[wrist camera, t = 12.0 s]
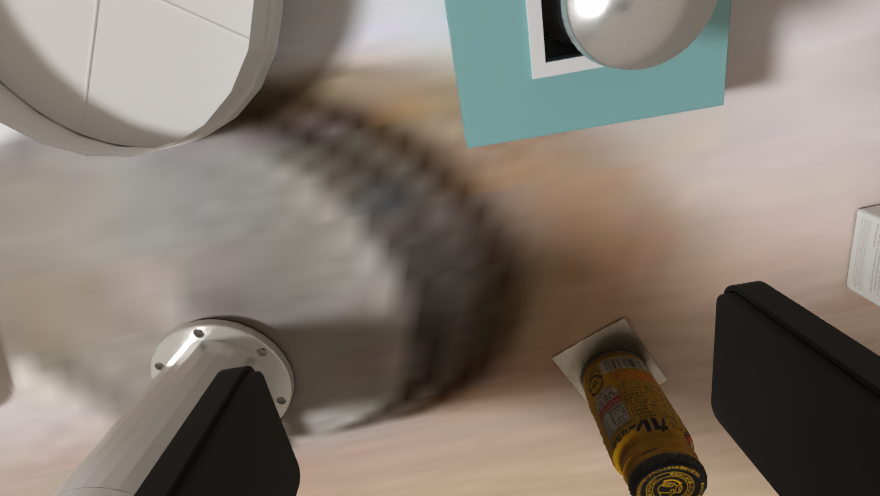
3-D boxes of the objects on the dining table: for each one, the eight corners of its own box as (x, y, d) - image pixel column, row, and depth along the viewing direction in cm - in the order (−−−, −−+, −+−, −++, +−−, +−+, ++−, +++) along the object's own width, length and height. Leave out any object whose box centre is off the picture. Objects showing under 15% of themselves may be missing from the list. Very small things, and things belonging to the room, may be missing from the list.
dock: (688, 97, 33) (726, 105, 28) (464, 136, 34) (467, 149, 29) (698, -148, 27) (747, -186, 23) (430, -92, 28) (428, -118, 24)
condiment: (597, 414, 44) (647, 535, 33) (551, 357, 42) (589, 467, 31) (666, 378, 43) (744, 494, 32) (623, 315, 40) (691, 418, 29)
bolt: (621, 53, 31) (717, 56, 20) (528, 69, 32) (573, 81, 21) (620, -56, 29) (729, -120, 18) (519, -36, 29) (564, -86, 18)
